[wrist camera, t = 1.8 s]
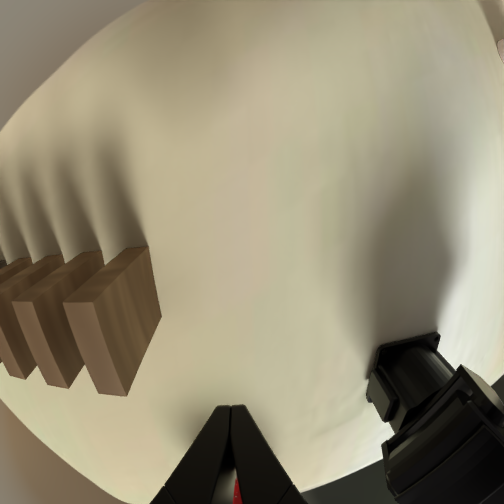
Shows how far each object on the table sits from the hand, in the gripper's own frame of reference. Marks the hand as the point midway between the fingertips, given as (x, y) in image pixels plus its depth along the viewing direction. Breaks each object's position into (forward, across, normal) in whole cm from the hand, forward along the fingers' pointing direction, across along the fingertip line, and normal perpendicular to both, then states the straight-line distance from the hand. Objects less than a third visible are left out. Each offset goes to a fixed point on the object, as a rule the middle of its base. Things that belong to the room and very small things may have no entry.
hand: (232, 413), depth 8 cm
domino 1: (+11, +6, 0) cm, 13 cm away
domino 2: (+11, +10, 0) cm, 15 cm away
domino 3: (+11, +13, 0) cm, 17 cm away
